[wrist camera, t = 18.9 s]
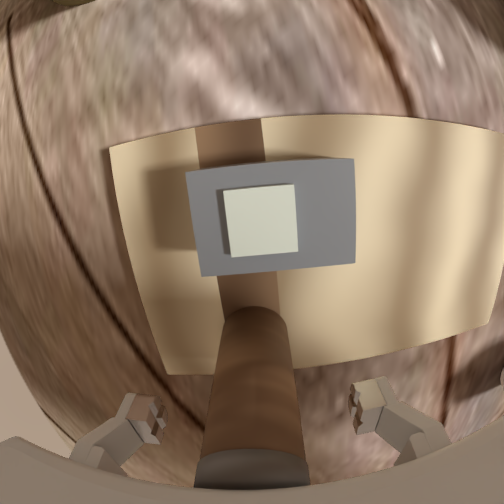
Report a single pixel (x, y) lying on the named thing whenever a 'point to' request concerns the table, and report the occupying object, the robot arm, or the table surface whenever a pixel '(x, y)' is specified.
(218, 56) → the table surface
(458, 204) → the plank
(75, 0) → the piston
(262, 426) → the peg
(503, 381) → the mug
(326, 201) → the block
